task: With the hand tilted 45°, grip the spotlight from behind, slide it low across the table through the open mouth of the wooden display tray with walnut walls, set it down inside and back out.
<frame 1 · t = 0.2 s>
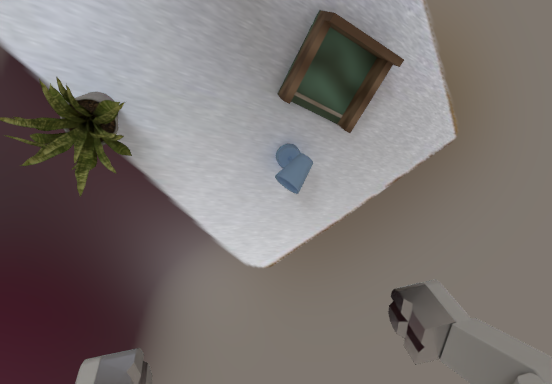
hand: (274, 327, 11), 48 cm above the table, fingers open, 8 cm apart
house plant: (101, 100, 50), on the table
spotlight: (285, 155, 62), on the table
wooden display tray: (331, 73, 56), on the table
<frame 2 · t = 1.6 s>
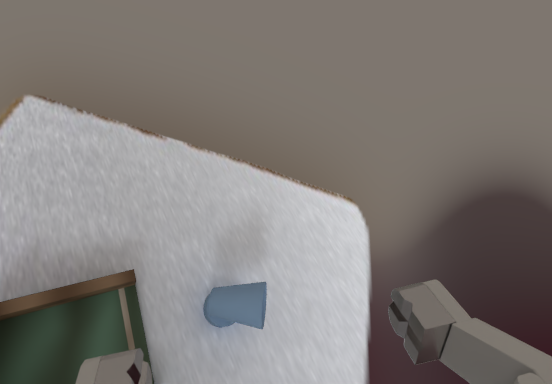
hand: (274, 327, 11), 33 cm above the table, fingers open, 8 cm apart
spotlight: (224, 308, 42), on the table
wooden display tray: (73, 360, 34), on the table
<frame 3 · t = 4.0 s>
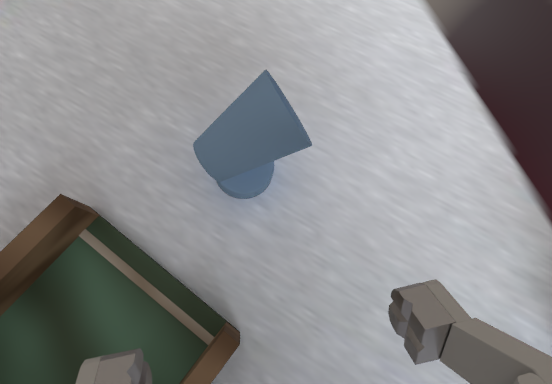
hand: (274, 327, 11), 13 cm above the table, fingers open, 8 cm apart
spotlight: (248, 168, 26), on the table
wooden display tray: (88, 354, 21), on the table
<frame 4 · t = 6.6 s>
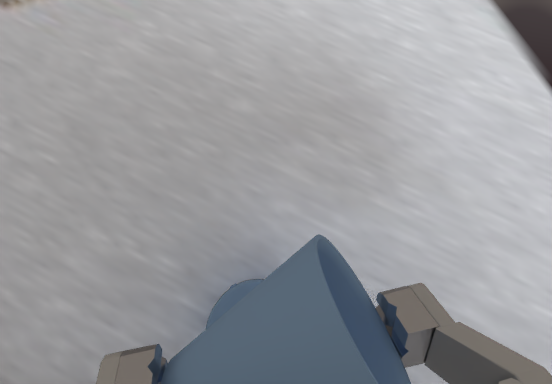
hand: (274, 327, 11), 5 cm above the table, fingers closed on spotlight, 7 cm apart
spotlight: (264, 322, 16), on the table, touching gripper
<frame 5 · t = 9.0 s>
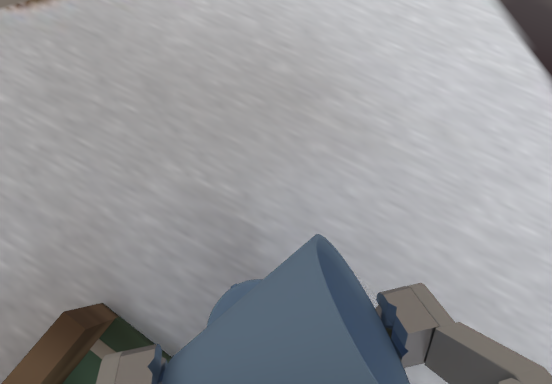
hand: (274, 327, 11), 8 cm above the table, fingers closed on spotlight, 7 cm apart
spotlight: (264, 322, 16), point 3 cm above the table, touching gripper
when the fingers open (7 cm above the table, at t = 11.6 s): spotlight stays where it is, resting on wooden display tray.
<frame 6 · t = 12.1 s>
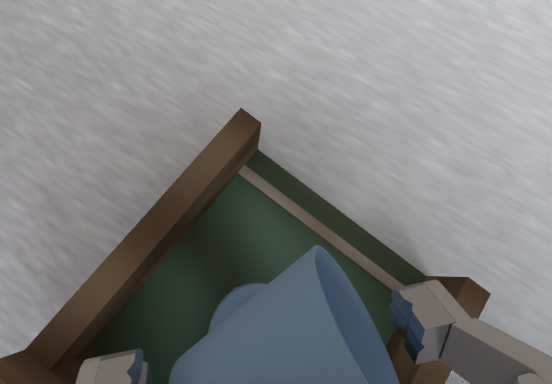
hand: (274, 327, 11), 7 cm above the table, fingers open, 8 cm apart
spotlight: (263, 324, 17), resting on wooden display tray
wooden display tray: (263, 318, 17), on the table
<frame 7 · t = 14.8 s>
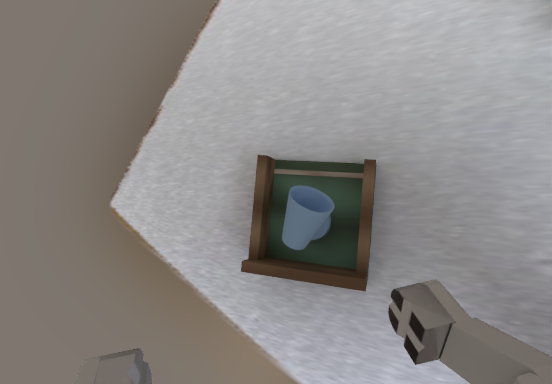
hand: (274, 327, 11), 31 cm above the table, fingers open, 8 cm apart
spotlight: (315, 218, 42), resting on wooden display tray
wooden display tray: (315, 216, 42), on the table
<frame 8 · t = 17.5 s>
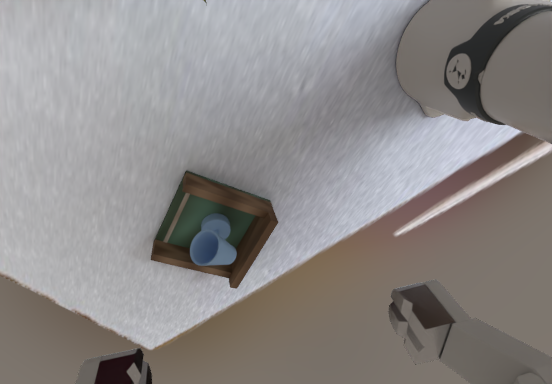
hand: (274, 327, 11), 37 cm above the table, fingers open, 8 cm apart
spotlight: (213, 222, 52), resting on wooden display tray
wooden display tray: (212, 221, 53), on the table
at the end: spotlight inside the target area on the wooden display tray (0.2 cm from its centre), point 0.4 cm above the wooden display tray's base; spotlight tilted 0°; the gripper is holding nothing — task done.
